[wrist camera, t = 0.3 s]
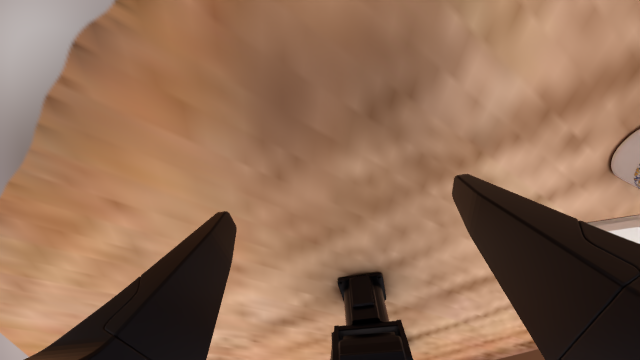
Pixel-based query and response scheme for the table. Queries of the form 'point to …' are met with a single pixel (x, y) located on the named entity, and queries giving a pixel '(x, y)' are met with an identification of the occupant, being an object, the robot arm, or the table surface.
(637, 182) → the bath foam
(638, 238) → the tray
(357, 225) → the table surface
